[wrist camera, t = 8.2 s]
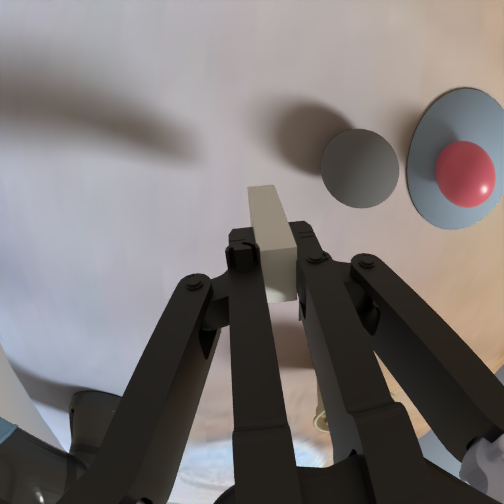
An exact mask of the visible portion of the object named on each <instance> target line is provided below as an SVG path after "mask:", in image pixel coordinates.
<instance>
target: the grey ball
mask: <svg viewBox="0 0 504 504" xmlns="http://www.w3.org/2000/svg"><path fill="white" fill-rule="evenodd" d="M321 175H322V179H323V182H324V184H325V186H326V188H327V189H328V191H329V192H330V193H331V195H332V196H333V197H334V198H336V199H337V200H338V201H340V202H341V203H343V204H345V205H347V206H350V207H354V208H369V207H373V206H376V205H378V204H380V203H382V202H383V201H385V200H386V199H387V198H388V197H389V196H390V195H391V194H392V192H393V191H394V189H395V187H396V185H397V182H398V177H399V164H398V159H397V156H396V154H395V152H394V150H393V148H392V147H391V145H390V144H389V143H388V142H387V141H386V140H385V139H384V138H383V137H381V136H380V135H378V134H377V133H375V132H372V131H369V130H365V129H351V130H347V131H344V132H342V133H340V134H338V135H337V136H335V137H334V138H333V139H332V140H331V141H330V142H329V143H328V145H327V146H326V148H325V150H324V152H323V155H322V159H321Z"/></svg>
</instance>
